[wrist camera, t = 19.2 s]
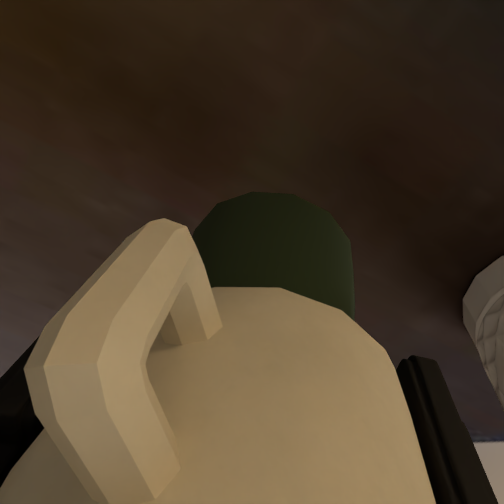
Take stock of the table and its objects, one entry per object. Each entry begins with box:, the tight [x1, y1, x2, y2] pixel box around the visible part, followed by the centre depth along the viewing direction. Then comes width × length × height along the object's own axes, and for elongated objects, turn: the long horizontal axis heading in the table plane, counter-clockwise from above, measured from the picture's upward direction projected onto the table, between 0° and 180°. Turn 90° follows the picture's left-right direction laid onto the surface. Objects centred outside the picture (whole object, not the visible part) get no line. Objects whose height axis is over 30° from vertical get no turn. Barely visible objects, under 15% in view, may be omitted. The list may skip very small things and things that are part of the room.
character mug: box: [0, 192, 436, 504], centre depth 9 cm, size 11×7×13 cm, turn 11°
